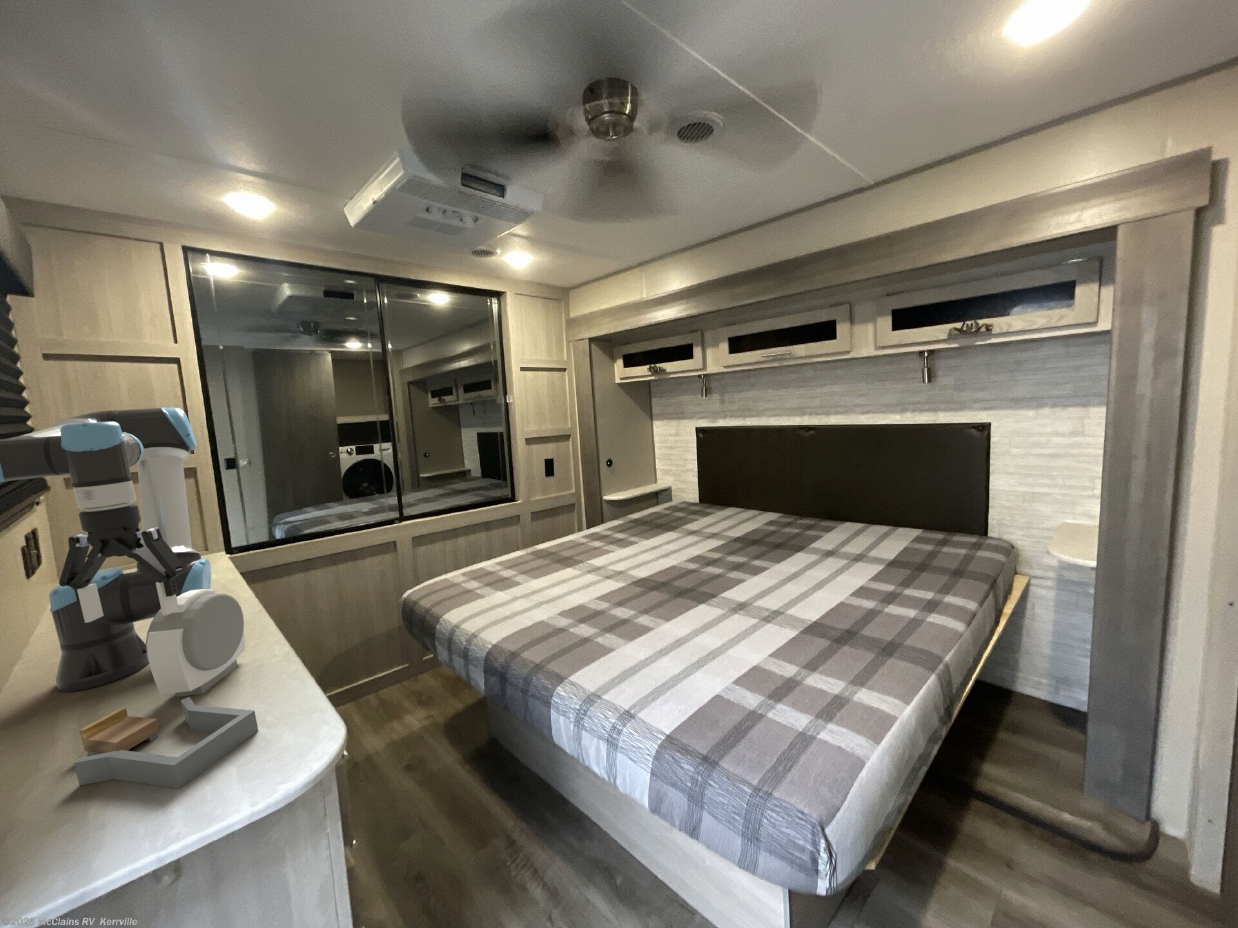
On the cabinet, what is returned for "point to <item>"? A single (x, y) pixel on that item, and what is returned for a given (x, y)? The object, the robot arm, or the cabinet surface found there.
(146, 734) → the tan block yellow end
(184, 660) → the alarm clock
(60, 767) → the cabinet surface
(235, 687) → the cabinet surface
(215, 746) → the bay
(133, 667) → the robot arm
